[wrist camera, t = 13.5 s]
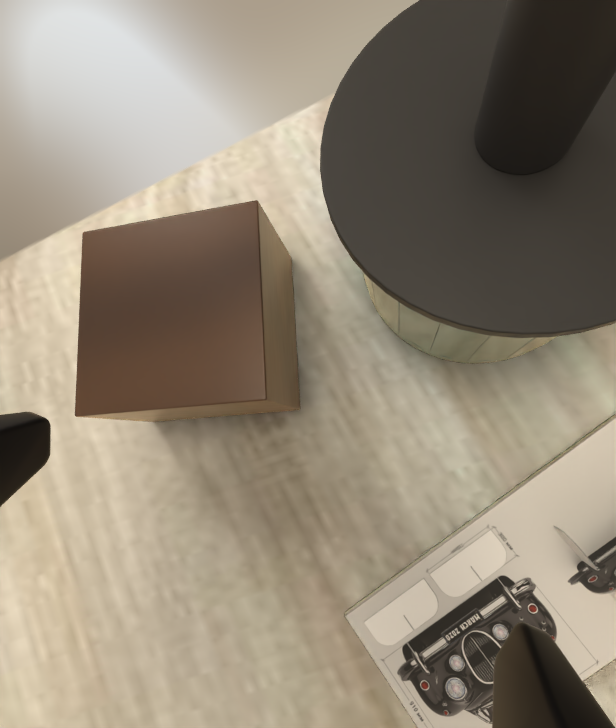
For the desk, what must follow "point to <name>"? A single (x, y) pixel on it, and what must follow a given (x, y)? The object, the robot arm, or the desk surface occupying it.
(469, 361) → the teal cup
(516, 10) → the lid
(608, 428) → the white gadget package
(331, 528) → the desk surface
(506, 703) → the robot arm
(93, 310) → the block
